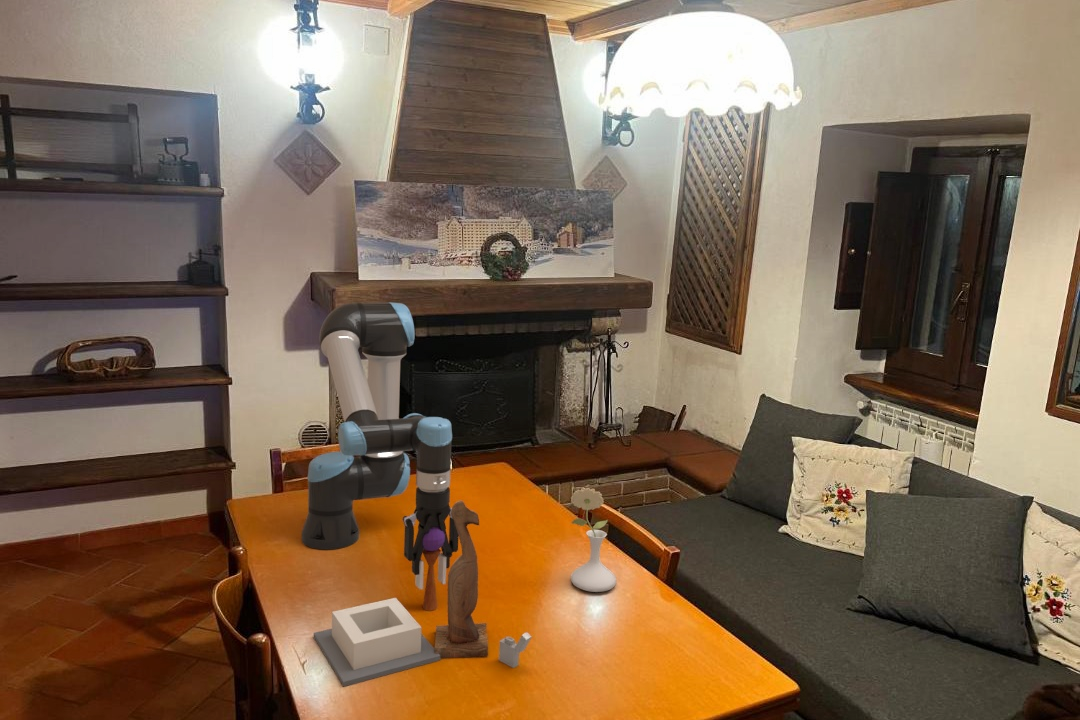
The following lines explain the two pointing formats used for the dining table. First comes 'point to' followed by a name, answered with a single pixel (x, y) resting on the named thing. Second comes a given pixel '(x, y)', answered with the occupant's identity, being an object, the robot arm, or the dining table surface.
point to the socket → (374, 642)
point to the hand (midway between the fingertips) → (430, 584)
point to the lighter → (512, 649)
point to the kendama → (431, 564)
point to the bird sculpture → (462, 597)
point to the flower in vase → (592, 547)
